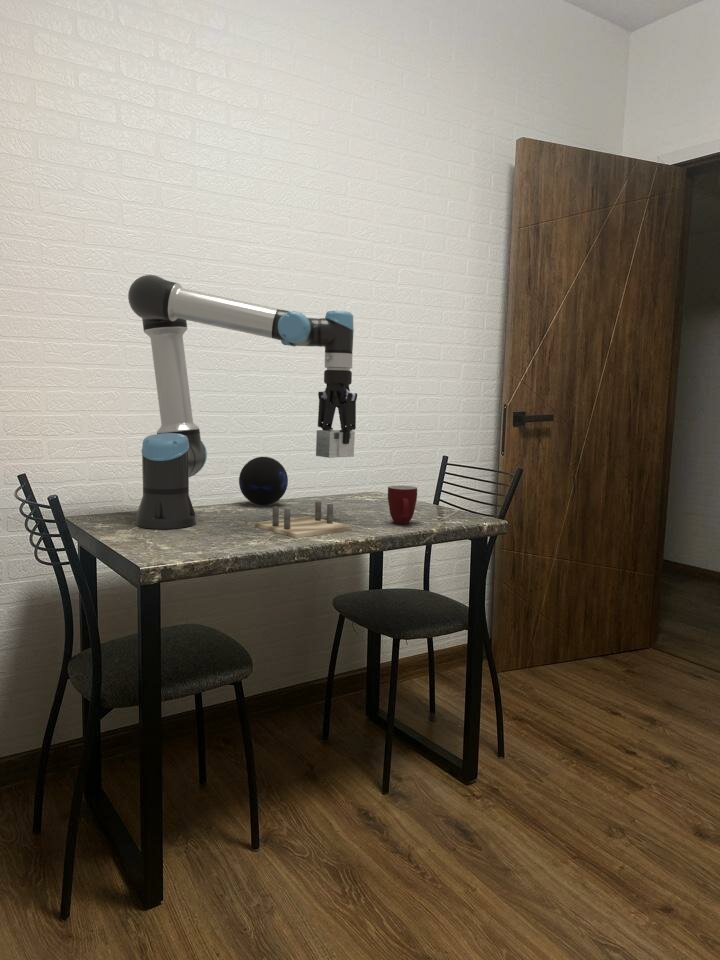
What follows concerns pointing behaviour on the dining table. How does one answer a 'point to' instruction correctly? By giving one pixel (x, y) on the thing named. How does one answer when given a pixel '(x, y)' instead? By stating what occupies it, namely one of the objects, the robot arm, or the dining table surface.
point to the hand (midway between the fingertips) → (335, 454)
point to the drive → (332, 443)
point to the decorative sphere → (263, 480)
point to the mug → (402, 503)
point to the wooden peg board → (303, 523)
